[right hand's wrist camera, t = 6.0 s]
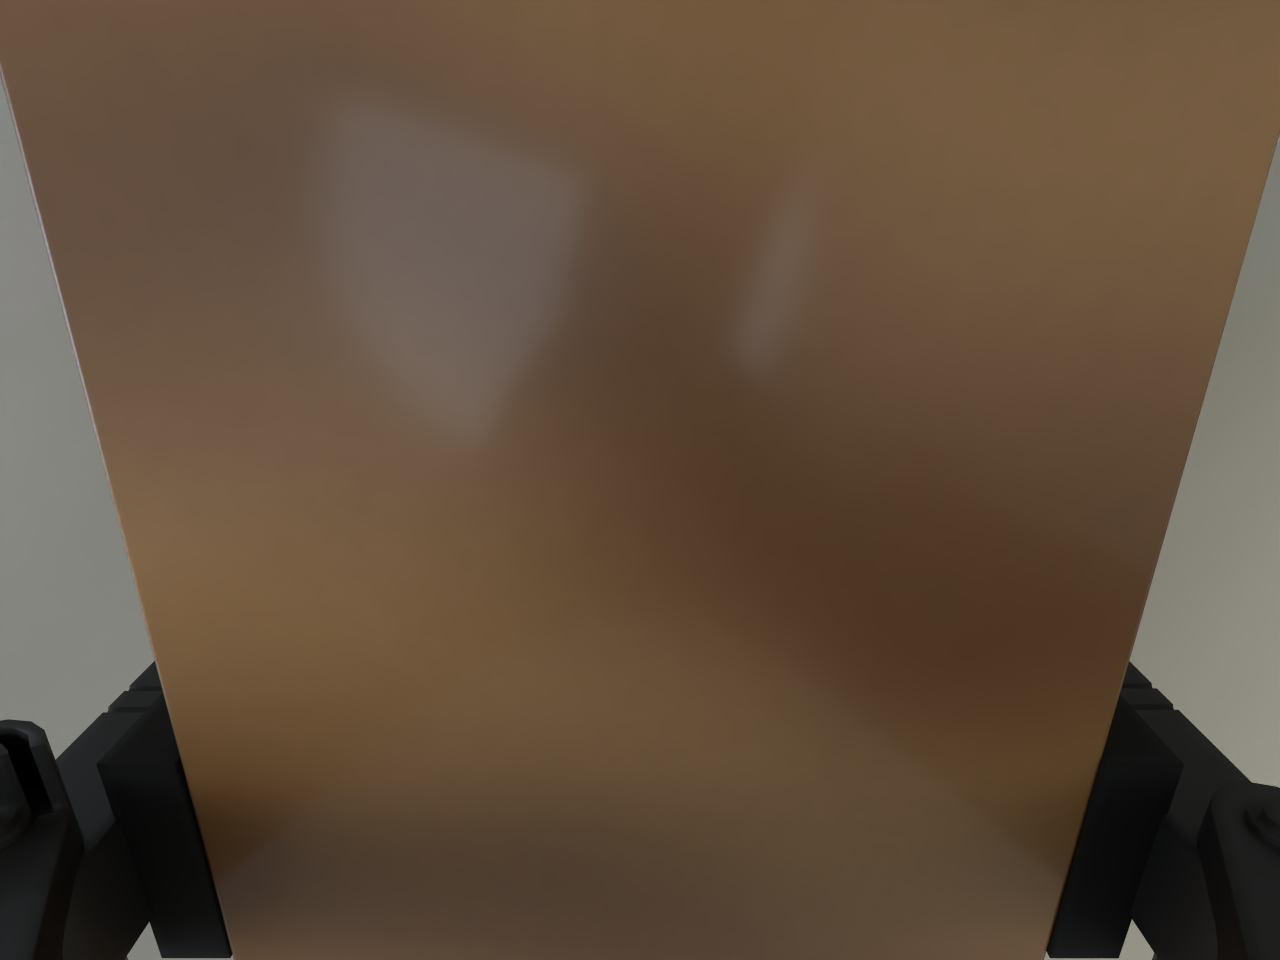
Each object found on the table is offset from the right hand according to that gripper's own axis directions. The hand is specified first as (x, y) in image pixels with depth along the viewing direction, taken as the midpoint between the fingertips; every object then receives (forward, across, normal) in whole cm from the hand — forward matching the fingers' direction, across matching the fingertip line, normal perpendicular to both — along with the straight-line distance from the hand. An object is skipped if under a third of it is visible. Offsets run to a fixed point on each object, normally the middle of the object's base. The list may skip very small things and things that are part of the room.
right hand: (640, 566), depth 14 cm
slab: (0, 0, -34) cm, 34 cm away
